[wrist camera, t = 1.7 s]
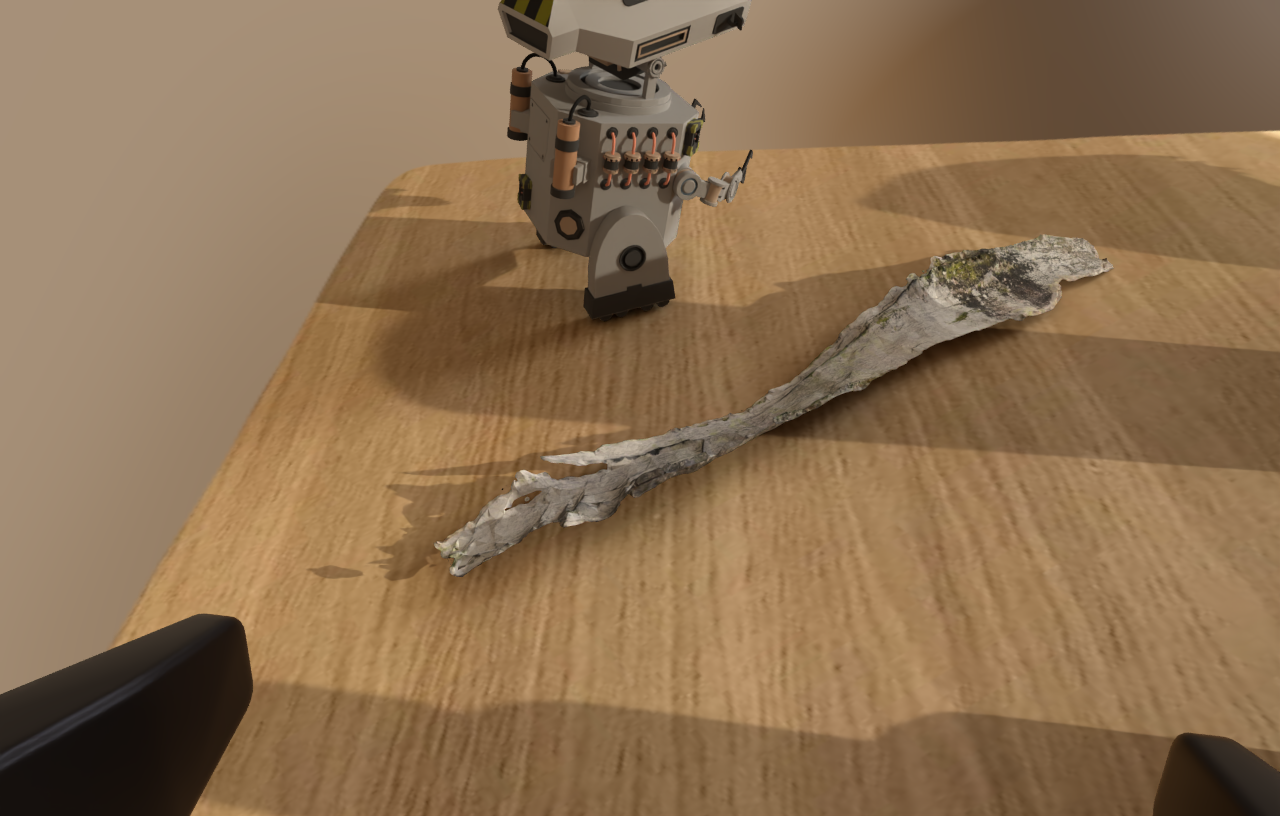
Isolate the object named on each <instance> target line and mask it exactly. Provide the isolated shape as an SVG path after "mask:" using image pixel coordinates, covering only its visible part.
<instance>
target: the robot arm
mask: <svg viewBox="0 0 1280 816" xmlns="http://www.w3.org/2000/svg"><path fill="white" fill-rule="evenodd" d="M252 692H253V679H252V673H251V666H250V660H249V654H248V647H247V641H246V635H245V630H244V626H243V625H242V623H241V622H240V621H239V620H238V619H236V618H235V617H230V616H221V615H213V614H197V615H194V616H191V617H189V618H186V619H184V620H182V621H179V622H177V623H174V624H172V625H169V626H167V627H164V628H162V629H160V630H157V631H155V632H152V633H150V634H147V635H145V636H142V637H140V638H138V639H135V640H133V641H130V642H128V643H125V644H123V645H120V646H118V647H116V648H113V649H111V650H108V651H106V652H103V653H101V654H98V655H96V656H93V657H91V658H89V659H86V660H84V661H81V662H79V663H77V664H74V665H72V666H69V667H67V668H64V669H62V670H59V671H57V672H55V673H52V674H49V675H47V676H45V677H42V678H40V679H37V680H35V681H33V682H30V683H27V684H25V685H23V686H20V687H18V688H15V689H13V690H10V691H8V692H5V693H3V694H1V695H0V816H190V815H191V813H192V811H193V809H194V807H195V805H196V804H197V802H198V800H199V798H200V796H201V794H202V792H203V791H204V789H205V787H206V785H207V783H208V781H209V779H210V778H211V776H212V774H213V772H214V770H215V768H216V766H217V765H218V763H219V761H220V759H221V757H222V755H223V753H224V752H225V750H226V748H227V746H228V744H229V742H230V740H231V739H232V737H233V735H234V733H235V731H236V729H237V727H238V726H239V724H240V722H241V720H242V718H243V716H244V714H245V713H246V711H247V708H248V706H249V703H250V701H251V697H252ZM1153 816H1280V772H1279V771H1277V770H1276V769H1274V768H1273V767H1272V766H1270V765H1269V764H1267V763H1266V762H1264V761H1263V760H1262V759H1260V758H1259V757H1257V756H1256V755H1254V754H1253V753H1252V752H1250V751H1249V750H1247V749H1246V748H1244V747H1243V746H1242V745H1240V744H1239V743H1237V742H1236V741H1234V740H1232V739H1229V738H1226V737H1220V736H1212V735H1204V734H1195V733H1183V734H1180V735H1179V736H1177V737H1176V739H1175V740H1174V741H1173V743H1172V746H1171V748H1170V751H1169V755H1168V758H1167V761H1166V765H1165V768H1164V771H1163V774H1162V778H1161V781H1160V784H1159V788H1158V791H1157V794H1156V797H1155V801H1154V808H1153Z"/></svg>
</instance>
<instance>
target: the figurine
mask: <svg viewBox="0 0 1280 816" xmlns="http://www.w3.org/2000/svg"><path fill="white" fill-rule="evenodd" d="M751 1H752V0H502V1H501V2H500V3H499V6H498V10H499V13H500V16H501V19H502V22H503V25H504V28H505V31H506V34H507V37H508V38H510V39H511V40H513V41H515V42H517V43H518V44H520V45H522V46H523V47H525V48H527V49H529V50H531V51H532V52H534V53H532V54H529V55H528V56H527V57H526V58H525V59H524V60H523V63H522V65H521V67H517V68H513V70H512V82H511V87H510V94H511V103H510V123H509V127H508V132H507V136H508V137H509V138H510V139H513V140H519V141H524V140H528V141H527V155H526V170H525V174H519V193H518V198H517V199H518V203H519V205H520V207H521V209H522V210H524V211H525V212H526V214H527V215H528V217H529V218H530V220H531V221H532V223H533V224H534V226H535V227H536V229H537V234H536V235H537V237H538V238H539V240H540V241H541V243H542V244H543V245H546V244H548V245H550V246H551V247H553V248H561V249H564V250H567V251H570V252H573V253H576V254H579V255H582V256H585V257H589V264H588V288H585V295H584V308H585V309H586V311H587V312H588V314H589V315H590V317H591V318H592V319H596V318H600V319H601V320H602V321H607V320H609V319H610V318H611V317H612V314H616V315H617V316H618V317H623V316H625V315H626V314H627V313H628V311H629V310H631V309H635V308H639V307H641V309H642V310H644V311H648V310H650V309H651V308H652V307H653V304H655V303H656V304H657V305H658V306H660V307H663V306H665V305H667V304H668V302H669V300H670V299H674V298H675V292H674V286H673V281H672V279H671V278H670V277H669V270H668V257H667V252H666V247H667V246H668V245H669V244H670V243H671V242H672V241H673V240H674V239H675V238H676V236H677V230H678V225H679V219H680V214H681V208H682V203H683V200H690V199H693V198H694V197H696V196H697V197H701V198H700V201H701V202H703V203H704V204H707V205H709V206H712V207H716V206H717V204H718V203H717V201H719V202H721V201H722V200H724V199H726V201H727V203H730V202H731V201H732V200H733V198H734V196H735V194H736V192H737V188H738V183H739V182H741V183H744V180H745V174H746V169H747V168H746V167H747V164H748V162H749V160H750V157H751V159H752V155H753V151H752V150H750V151H749V154H748V156H747V158H746V161H745V163H744V165H743V167H742V170H741V167H739V168H738V170H737V171H736V172H735V173H734V174H733V175H732V176H729V173H728V172H725V173H724V175H723V176H722V178H721V180H720V179H717V178H714V177H709V178H708V181H709V182H708V181H704V180H701V178H700V177H699V176H698V175H697V174H696V173H695V172H694V171H693V170H692V169H691V168H690V167H689V164H690V159H691V156H692V155H693V154H694V153H696V152H697V150H698V147H699V141H698V140H699V135H700V130H701V128H702V125H703V122H705V114H704V108H703V111H702V117H701V118H698V114H699V112H698V111H697V110H696V109H695V107H696V105H699V106H700V107H702V106H701V104H700V103H699V102H698V101H697V100H696V99H694V101H693V103H692V105H690V104H689V103H688V102H686V101H685V100H684V99H683V98H682V97H680V96H679V95H678V94H677V93H675V92H674V91H673V90H672V89H671V88H670V87H669V85H668V84H667V83H666V82H664V81H662V80H661V79H659V76H660V74H662V72H663V71H664V67H665V66H667V65H666V62H664V60H663V59H662V58H661V56H664V55H667V54H669V53H672V52H675V51H678V50H680V49H683V48H686V47H688V46H691V45H694V44H696V43H699V42H702V41H704V40H707V39H710V38H713V37H715V36H718V35H721V34H723V33H726V32H728V31H731V30H734V29H737V28H738V29H739V30H742V26H744V24H745V21H746V18H747V14H748V11H749V8H750V4H751ZM575 51H576V52H579V53H583V54H585V55H587V56H589V66H588V67H581V68H577V69H574V70H558V72H557V70H556V66H555V64H554V63H553V61H552V59H555V58H558V57H561V56H564V55H566V54H569V53H572V52H575ZM535 56H537V57H542V58H544V59H546V60H547V61H548V62H549V63H550V64H551V66H552V68H553V72H551V73H548V74H546V75H544V76H542V77H540V78H537V79H535V80H533V81H531V80H532V71H531V70H529V69H528V68H525V65H526V62H527V61H528V60H529V59H530V58H532V57H535Z"/></svg>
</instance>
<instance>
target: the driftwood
mask: <svg viewBox="0 0 1280 816" xmlns="http://www.w3.org/2000/svg"><path fill="white" fill-rule="evenodd" d="M1110 269H1113V265H1112V264H1111V263H1109V261H1108V260H1107V258H1106V259H1102V260H1101V259H1099V256H1098V253H1097V251H1096V250H1095V248H1094V246H1093V245H1091V244H1090V243H1089V242H1088V241H1086V240H1084V239H1083V238H1066V237H1057V236H1049V235H1046V234H1044V235H1040V236H1039V237H1037V238H1035V239H1033V240H1028V241H1024V242H1021V243H1017V244H1015V245H1009V246H1006V247H1000V248H994V249H980V250H977V251H970V250H963V251H962V252H958V253H952V254H948V255H945V256H943V257H937V256H934V257H931V264H930V267H929V269H928V270H927V273H926V274H923V275H921V276H920V277H918V276H917V275H916V274H914V273H911V274H909V276H908V277H907V278H906V280H907V281H908V283H907V285H906V286H904V287H898V286H895V287H893V288H891V289H890V291H889V292H888V294H887V295H886V296H885V297H884V299H883V300H882V301H881V302H880V303H879V304H878V306H875V307H873V308H869V309H867V310H866V311H864V312H862V313H861V314H860V315H859V316H858V317H857V319H856V320H855V321H854V322H853V323H851V324H849V325H848V326H847V327H846V328H845V329H844V330H842V331H841V333H840V334H839V337H838V339H837V340H836V341H835V343H834V344H833V345H831V346H829V347H827V348H826V349H825V350H824V351H823V352H822V353H820V355H819V357H817V358H816V359H815V360H814V361H812V362H811V364H810V365H809V366H808V368H806V369H805V370H804V371H802V373H801V374H799V375H798V376H795V378H794V379H793V380H792V381H791V382H789V383H787V384H784V385H782V386H780V387H777V388H774V389H770V390H769V391H768V394H767V395H765V396H764V397H762V398H761V399H759V400H758V401H757V402H755V403H754V404H753V405H752V407H751V408H747V409H746V411H744V412H743V413H737V414H735V413H734V414H731V413H729V414H728V415H726V416H724V417H722V418H718V419H713V420H707V421H705V422H702V423H699V424H694V425H692V426H686V427H683V428H680V429H679V428H674V429H672V430H669V431H668V432H667V433H666V434H664V435H659V436H654V437H651V438H647V439H638V440H633V439H632V440H626V441H623V442H619V443H616V444H605V445H602V446H601V447H599V448H598V449H597V450H596V451H594V452H590V451H586V452H578V453H573V454H566V455H557V456H541V459H542V460H547V461H549V462H551V463H566V464H573V465H577V466H582V465H585V466H586V465H588V464H593V463H601V462H602V463H607V466H608V467H607V470H605V469H603V470H600V471H598V472H597V473H595V474H591V475H584V476H581V477H565V478H562V479H559V480H556V479H553V478H551V477H550V475H549V474H548V473H546V472H543V473H540V474H532V473H530V472H528V471H526V470H521V471H519V472H517V473H516V475H515V477H516V478H517V481H515V480H514V481H513V483H512V485H511V490H510V492H509V493H507V494H504V495H500V496H497V497H496V498H495V499H493V500H492V501H490V502H488V504H487V505H485V506H484V507H483V508H482V509H481V511H480V514H479V515H478V517H477V518H476V519H475V520H474V521H471V522H467V523H466V525H465V526H464V527H462V528H461V529H459V530H457V531H456V532H454V533H453V534H451V535H449V536H448V537H447V538H446V539H445V540H444V541H443V542H441V541H437V542H435V543H434V545H435V547H436V548H437V549H439V550H440V551H441V556H442V558H455V560H454V562H453V564H452V566H451V567H450V573H451V574H452V575H454V576H456V577H463V576H464V575H465V574H467V573H468V572H469V571H470V570H472V569H473V568H475V567H476V566H478V565H480V564H482V563H483V562H485V561H487V560H489V559H491V558H492V557H493V556H496V555H499V554H500V553H502V552H504V551H505V550H507V549H508V548H509V547H511V546H513V545H515V544H517V543H520V542H521V541H522V538H524V537H526V536H527V535H528V534H529V533H530V532H532V531H533V530H535V529H539V528H541V527H542V526H544V525H546V524H549V523H552V522H553V523H554V522H560V525H561V526H562V527H567V526H573V525H578V524H581V523H583V522H585V521H590V522H594V521H596V522H598V521H601V520H605V519H607V518H609V517H610V516H612V515H613V514H614V513H615V512H616V510H617V508H618V506H620V502H621V501H622V500H623V499H624V498H625V497H626V496H627V494H630V495H632V496H633V497H634V498H635V497H640V496H641V495H642V494H643V493H645V492H647V491H649V490H651V489H652V488H655V487H656V486H657V485H659V484H660V483H662V482H664V481H666V480H667V479H669V478H670V477H674V476H677V475H680V474H685V473H691V472H694V471H696V470H698V469H700V468H701V467H703V466H705V465H706V464H708V463H710V462H711V461H712V460H713V459H715V458H716V457H719V456H722V455H724V454H727V453H729V452H731V451H733V450H734V449H736V448H737V447H739V446H741V445H742V444H744V443H746V442H748V441H750V440H751V439H753V438H755V437H756V436H758V435H760V434H763V433H765V432H767V431H769V430H772V429H774V428H776V427H778V426H780V425H781V424H783V423H784V422H787V421H789V420H792V419H795V418H797V417H799V416H800V415H802V414H804V413H806V412H808V411H811V410H812V409H817V408H819V407H820V406H821V405H823V404H824V403H826V402H827V401H829V400H830V399H832V398H834V397H836V396H838V395H841V394H843V393H846V392H849V391H857V390H859V391H861V390H863V389H865V388H866V387H867V386H868V385H869V384H870V382H871V381H872V380H874V379H876V378H877V377H881V376H883V375H884V374H885V373H886V372H889V371H891V370H895V369H897V368H898V367H899V366H902V365H904V364H907V361H908V360H910V359H912V358H914V357H916V356H918V355H920V354H921V353H923V352H922V350H925V349H927V348H929V347H931V346H932V345H935V344H936V343H940V342H943V341H945V340H952V339H954V338H956V337H959V336H962V335H964V334H967V333H969V332H972V331H975V330H979V331H980V330H981V329H984V328H987V327H990V326H992V325H994V324H996V323H998V322H1003V321H1005V320H1007V319H1014V320H1019V321H1022V320H1023V319H1025V318H1026V317H1027V316H1030V315H1031V316H1034V315H1038V314H1042V313H1044V312H1046V311H1050V310H1052V309H1053V308H1054V307H1055V305H1056V304H1057V303H1058V301H1059V300H1060V299H1061V298H1062V296H1061V295H1062V291H1061V285H1060V284H1059V282H1060V281H1061V280H1062V279H1064V280H1067V281H1075V280H1077V279H1079V278H1082V277H1085V276H1095V275H1097V274H1100V273H1101V272H1107V271H1109V270H1110ZM922 272H924V270H923V271H922ZM741 411H742V410H741ZM513 476H514V475H513ZM502 490H503V489H502ZM537 490H539V491H542V492H541V493H540V494H538V495H537V496H535V497H534V499H533V500H531V501H530V502H529V503H527V504H519V505H517V506H515V507H513V508H511V506H512V503H513V501H514V500H515V499H517V498H519V497H521V496H525V495H527V494H529V493H532V492H534V491H537ZM524 500H525V501H528V500H530V498H529V497H527V496H526V498H525V499H524ZM506 508H511V509H509V510H507V511H505V509H506ZM450 561H451V560H450Z"/></svg>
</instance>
